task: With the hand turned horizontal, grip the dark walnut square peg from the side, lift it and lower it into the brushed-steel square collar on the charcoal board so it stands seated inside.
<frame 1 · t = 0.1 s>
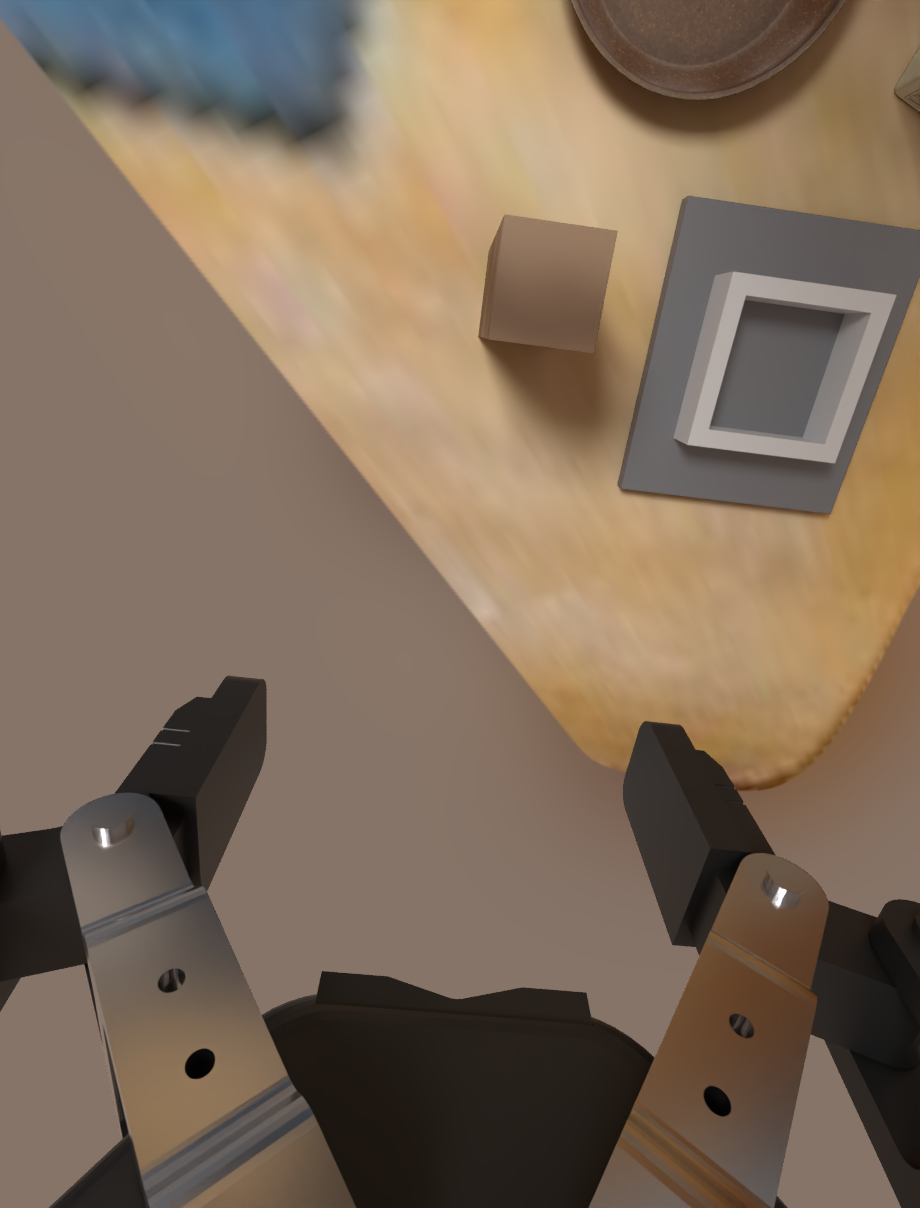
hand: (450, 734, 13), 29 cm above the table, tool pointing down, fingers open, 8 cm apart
walnut square peg: (521, 300, 36), on the table
collar holder: (758, 369, 38), on the table
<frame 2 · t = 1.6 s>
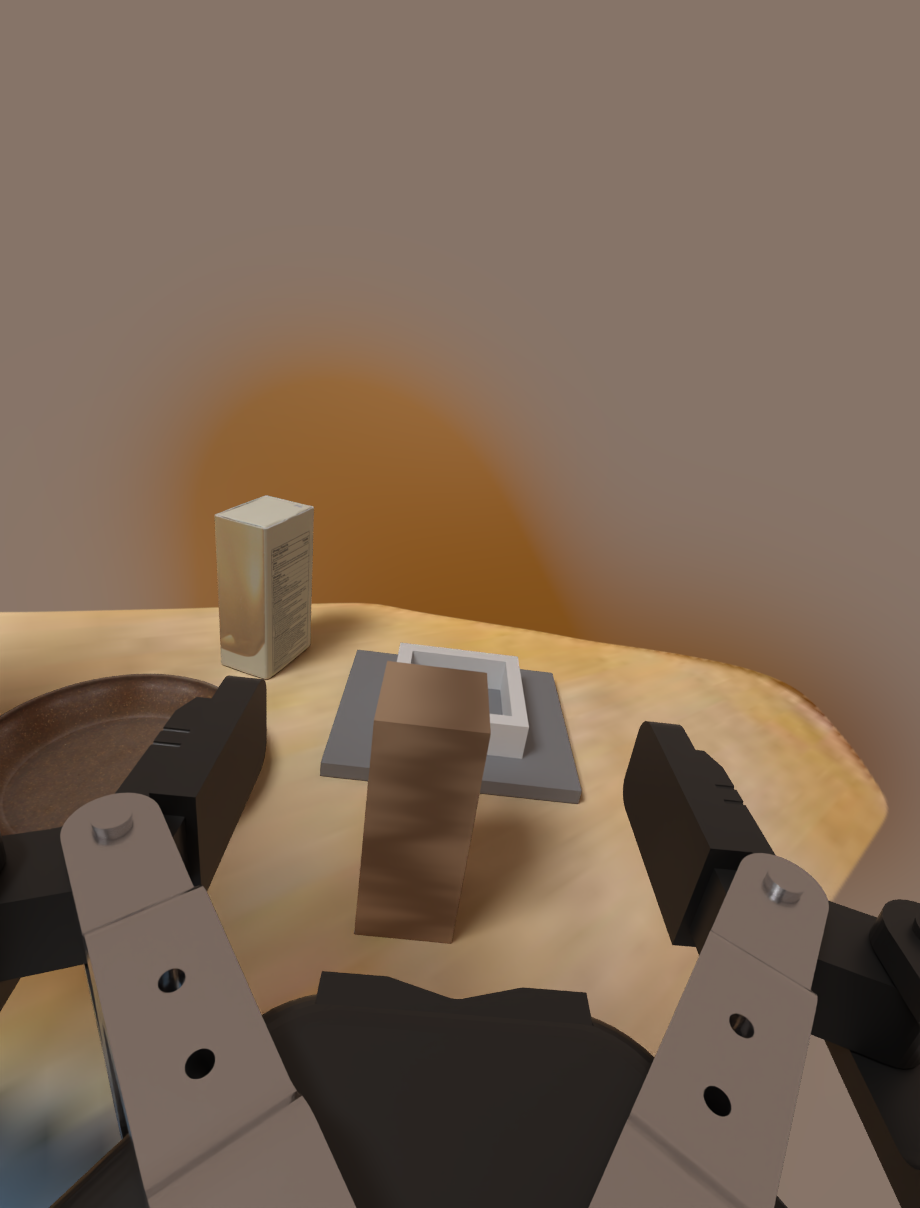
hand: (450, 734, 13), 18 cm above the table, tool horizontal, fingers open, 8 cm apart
walnut square peg: (407, 897, 31), on the table
collar holder: (452, 722, 44), on the table
saucer: (120, 784, 35), on the table
skincare box: (266, 658, 49), on the table
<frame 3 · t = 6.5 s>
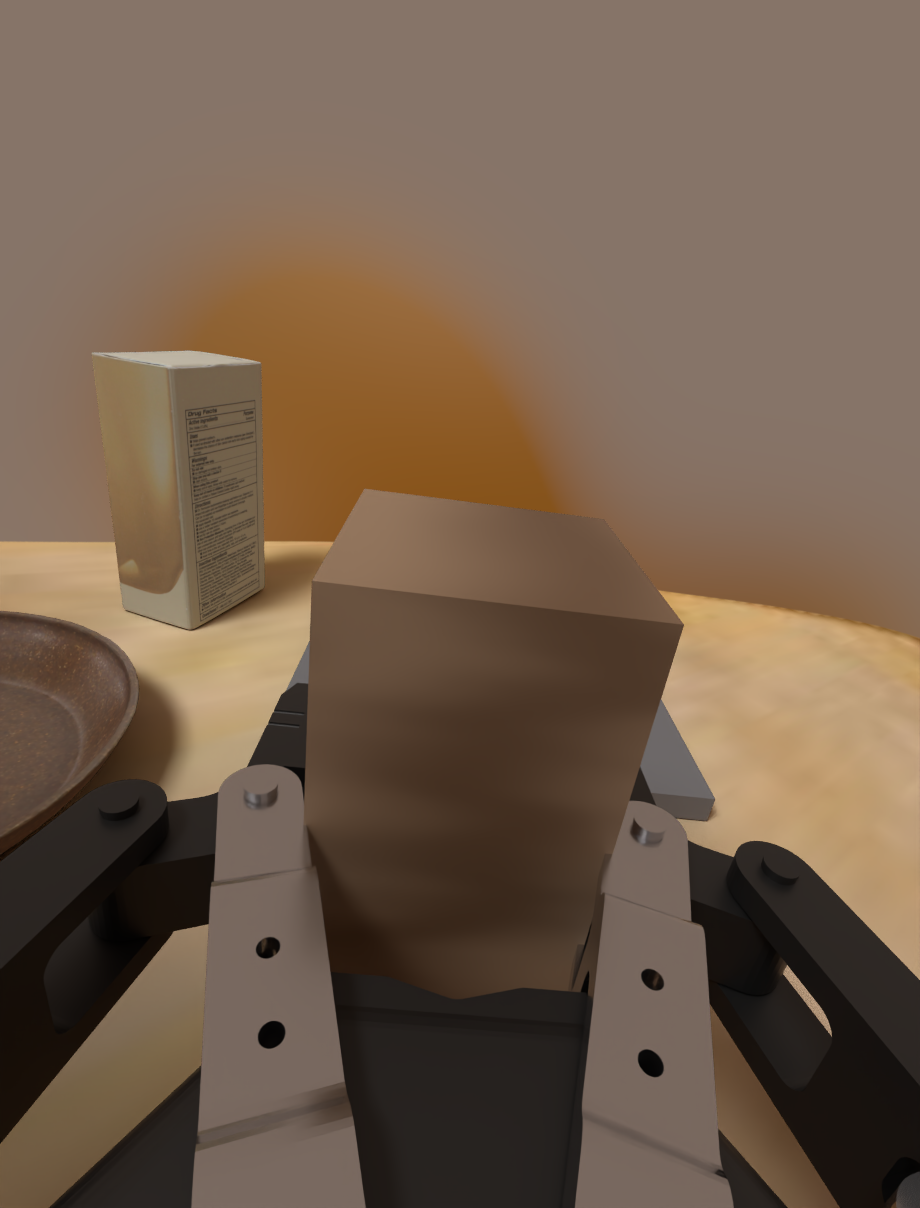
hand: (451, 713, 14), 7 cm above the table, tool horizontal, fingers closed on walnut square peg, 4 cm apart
walnut square peg: (413, 1031, 14), on the table, touching gripper
collar holder: (480, 691, 28), on the table
skincare box: (196, 604, 33), on the table
when the fingers open (9 cm above the table, at t = 13.0 s): walnut square peg drops 1 cm, resting on collar holder.
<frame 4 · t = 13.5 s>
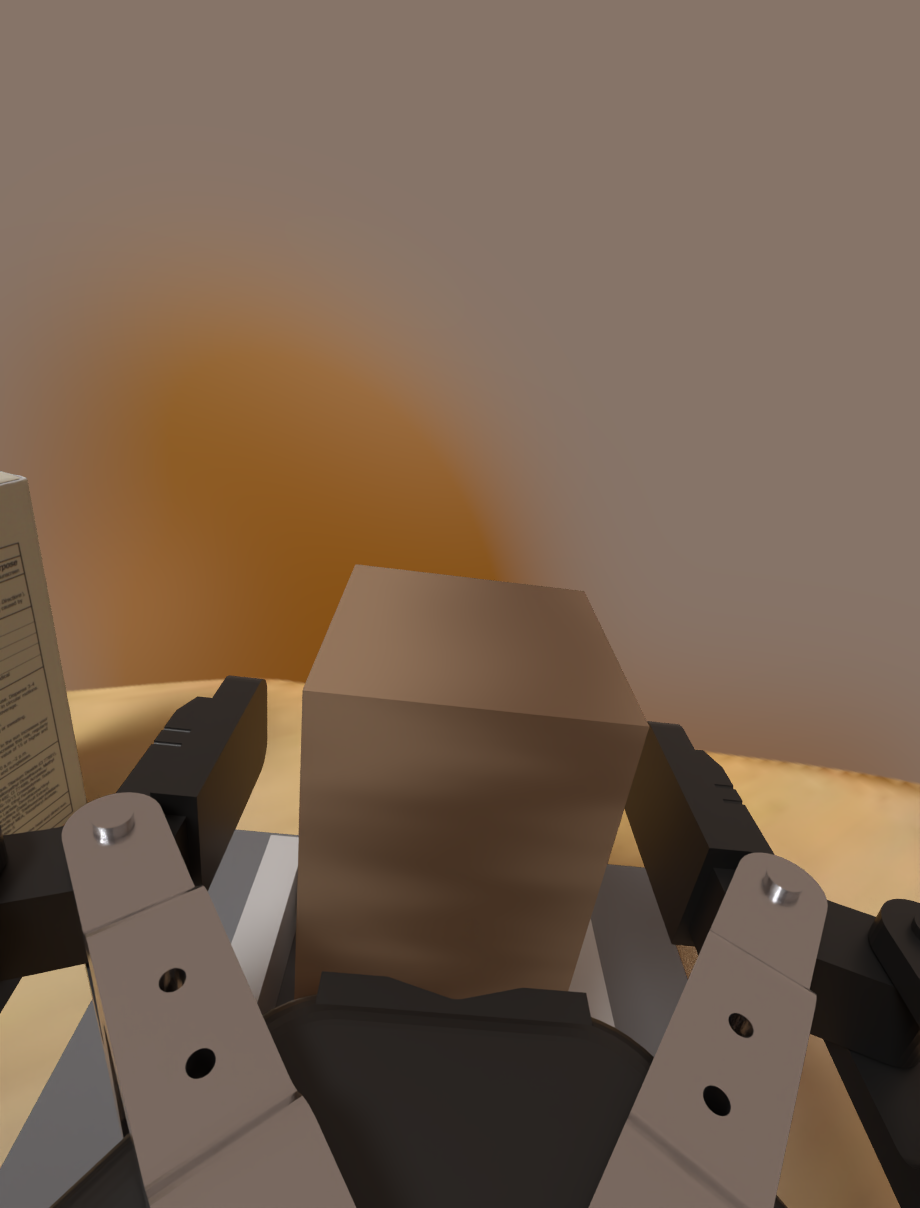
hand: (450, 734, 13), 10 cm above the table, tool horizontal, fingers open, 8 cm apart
walnut square peg: (406, 1071, 15), point 1 cm above the table, touching collar holder
collar holder: (403, 1094, 15), on the table
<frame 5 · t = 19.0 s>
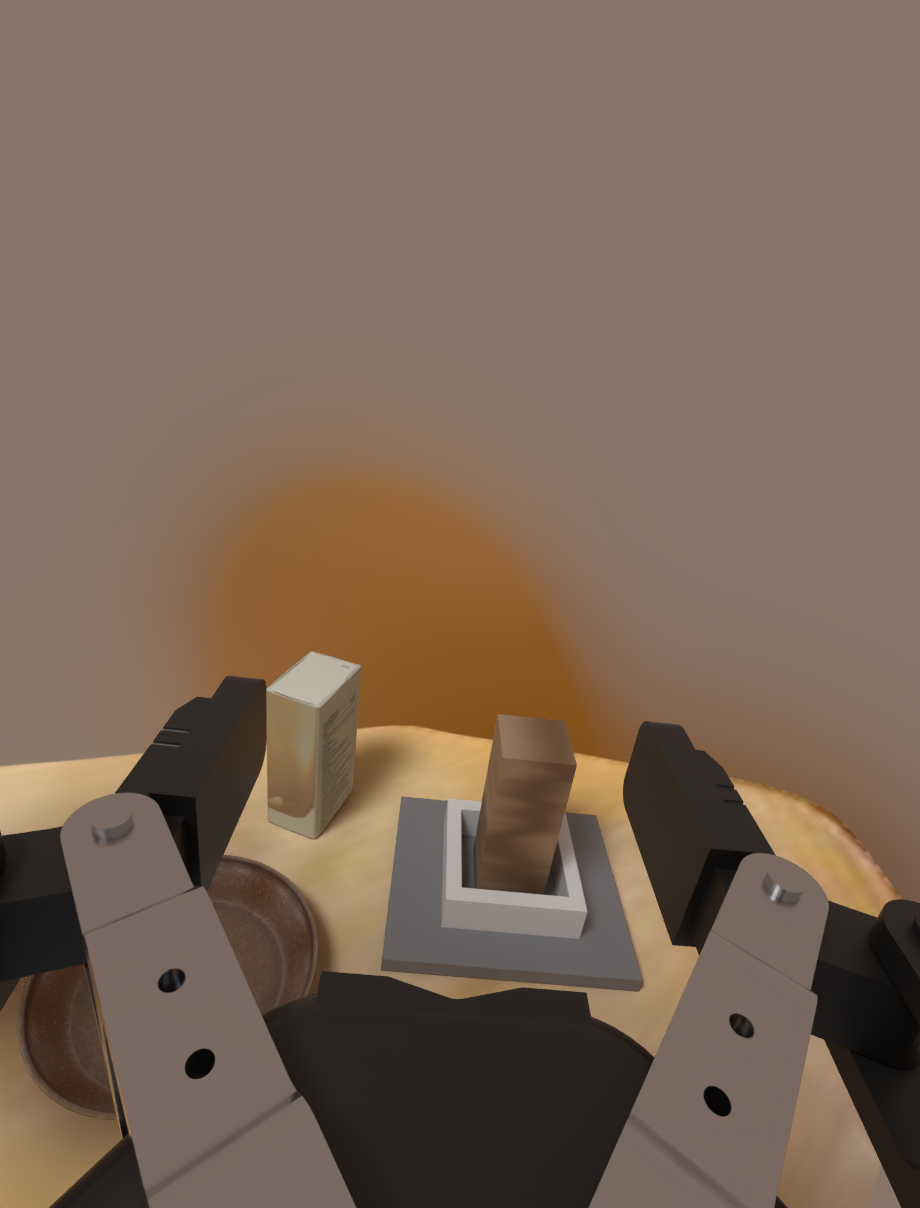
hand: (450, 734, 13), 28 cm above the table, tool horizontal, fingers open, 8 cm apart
walnut square peg: (505, 876, 44), point 1 cm above the table, touching collar holder
collar holder: (503, 886, 44), on the table
saucer: (183, 993, 35), on the table
skincare box: (311, 808, 49), on the table
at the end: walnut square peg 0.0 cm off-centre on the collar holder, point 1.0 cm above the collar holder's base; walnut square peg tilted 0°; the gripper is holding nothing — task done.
